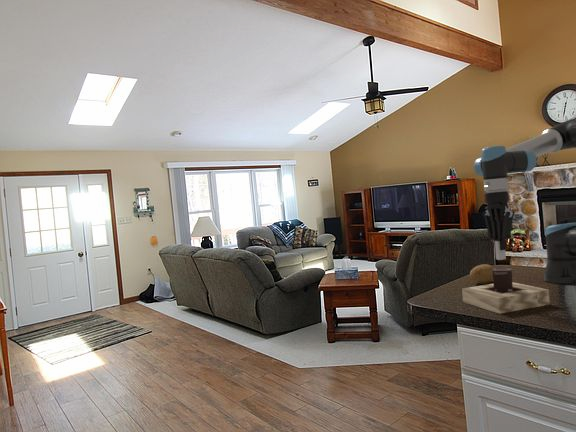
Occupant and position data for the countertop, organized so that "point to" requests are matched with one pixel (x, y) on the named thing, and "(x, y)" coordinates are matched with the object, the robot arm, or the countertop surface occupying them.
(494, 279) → the box
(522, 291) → the square frame
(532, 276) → the countertop surface
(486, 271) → the potato
